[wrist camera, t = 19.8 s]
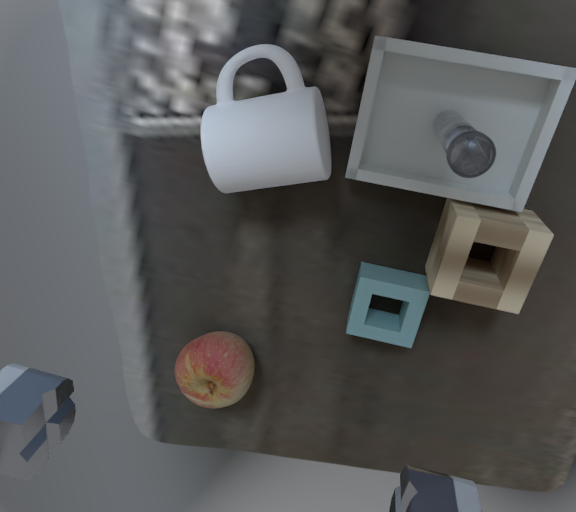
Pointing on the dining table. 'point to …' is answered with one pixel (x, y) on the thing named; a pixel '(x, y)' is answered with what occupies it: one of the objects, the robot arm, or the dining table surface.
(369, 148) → the tray
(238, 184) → the mug
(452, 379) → the dining table surface
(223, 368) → the apple
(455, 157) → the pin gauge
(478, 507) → the robot arm
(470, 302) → the beech block
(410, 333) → the stand
